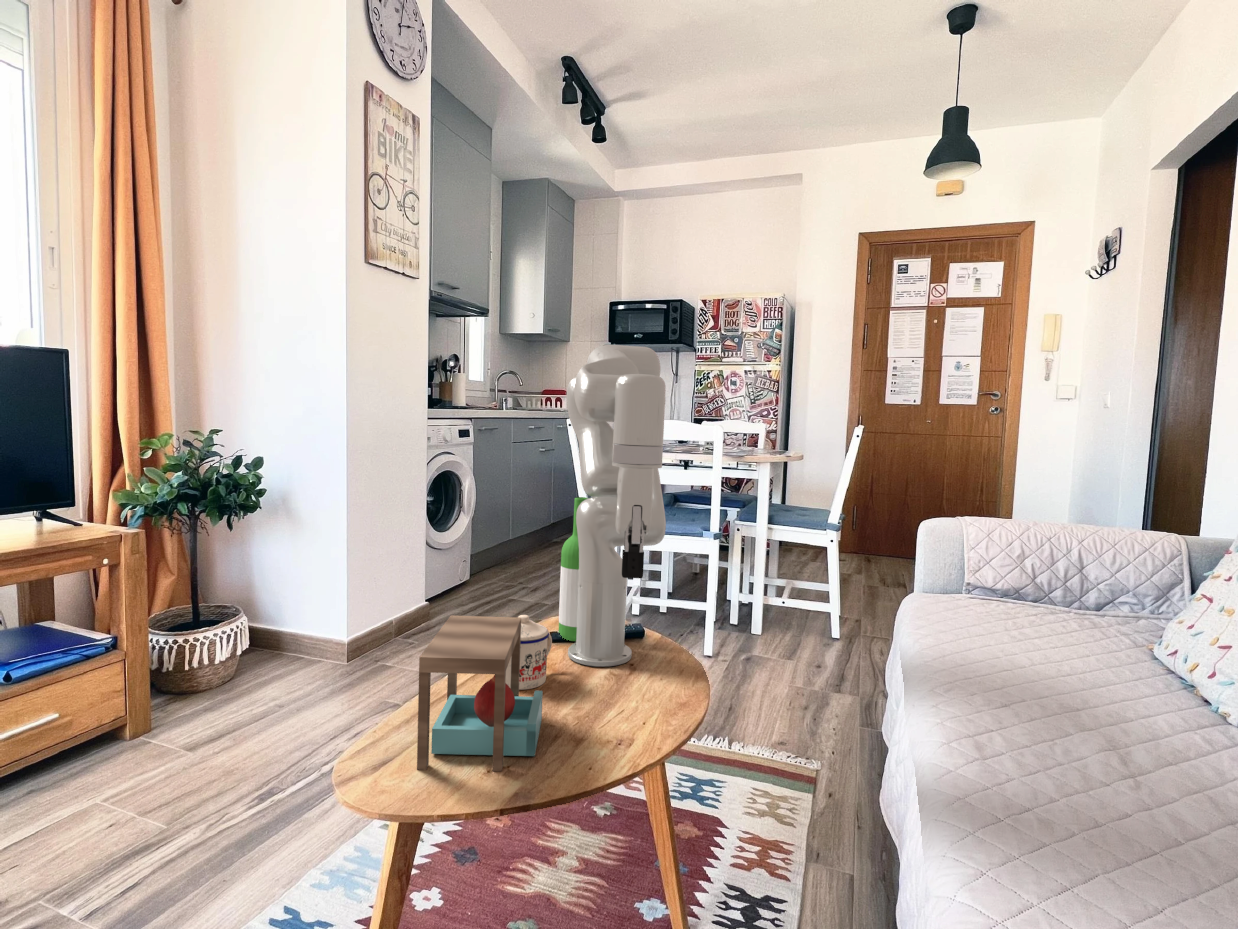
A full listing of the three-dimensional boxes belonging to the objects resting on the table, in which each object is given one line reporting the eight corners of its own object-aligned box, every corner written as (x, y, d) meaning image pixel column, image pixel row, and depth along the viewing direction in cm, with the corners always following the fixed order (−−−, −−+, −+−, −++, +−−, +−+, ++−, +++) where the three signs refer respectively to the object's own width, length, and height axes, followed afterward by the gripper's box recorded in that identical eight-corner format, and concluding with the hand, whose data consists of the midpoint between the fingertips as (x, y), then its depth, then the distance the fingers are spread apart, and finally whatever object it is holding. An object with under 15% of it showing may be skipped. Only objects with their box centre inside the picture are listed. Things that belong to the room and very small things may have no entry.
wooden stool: (448, 708, 103) (450, 615, 102) (518, 710, 103) (521, 617, 102) (416, 769, 85) (419, 657, 84) (501, 771, 85) (505, 659, 84)
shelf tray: (449, 717, 99) (450, 688, 99) (541, 719, 100) (542, 690, 99) (431, 753, 88) (432, 721, 88) (534, 756, 89) (535, 724, 88)
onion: (465, 728, 94) (466, 674, 93) (496, 715, 98) (497, 663, 98) (491, 742, 90) (492, 685, 89) (522, 728, 94) (523, 674, 94)
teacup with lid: (522, 696, 108) (524, 627, 108) (484, 681, 114) (486, 616, 113) (568, 674, 118) (570, 612, 118) (531, 662, 123) (533, 602, 123)
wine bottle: (599, 634, 142) (605, 497, 140) (586, 645, 134) (591, 501, 132) (566, 629, 144) (571, 494, 142) (552, 639, 137) (557, 498, 135)
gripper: (611, 453, 105) (606, 564, 106) (613, 459, 90) (608, 589, 92) (657, 455, 105) (652, 566, 107) (667, 461, 91) (661, 590, 92)
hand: (632, 576), depth 99 cm, fingers closed
